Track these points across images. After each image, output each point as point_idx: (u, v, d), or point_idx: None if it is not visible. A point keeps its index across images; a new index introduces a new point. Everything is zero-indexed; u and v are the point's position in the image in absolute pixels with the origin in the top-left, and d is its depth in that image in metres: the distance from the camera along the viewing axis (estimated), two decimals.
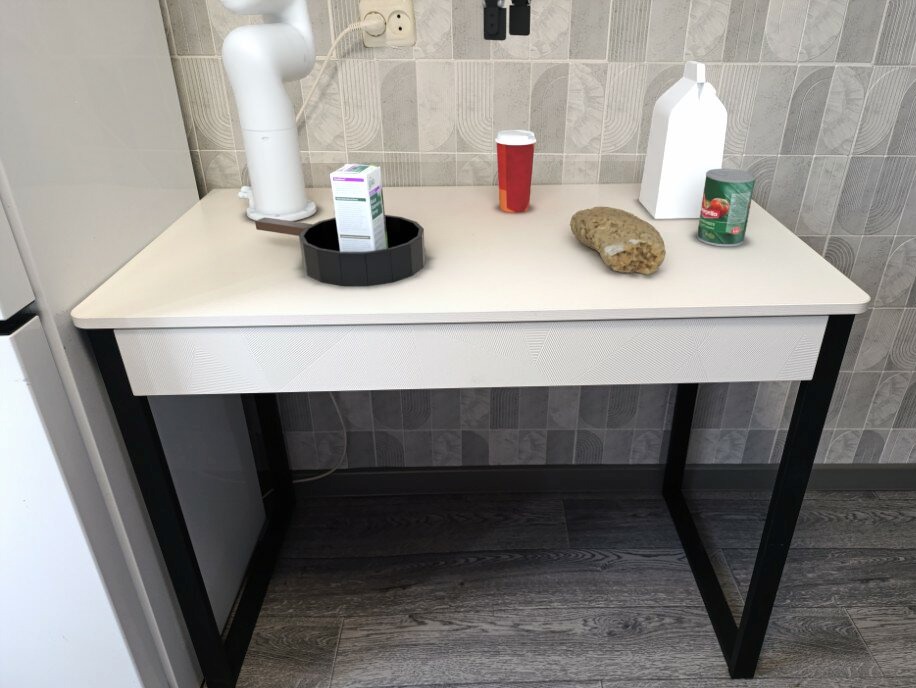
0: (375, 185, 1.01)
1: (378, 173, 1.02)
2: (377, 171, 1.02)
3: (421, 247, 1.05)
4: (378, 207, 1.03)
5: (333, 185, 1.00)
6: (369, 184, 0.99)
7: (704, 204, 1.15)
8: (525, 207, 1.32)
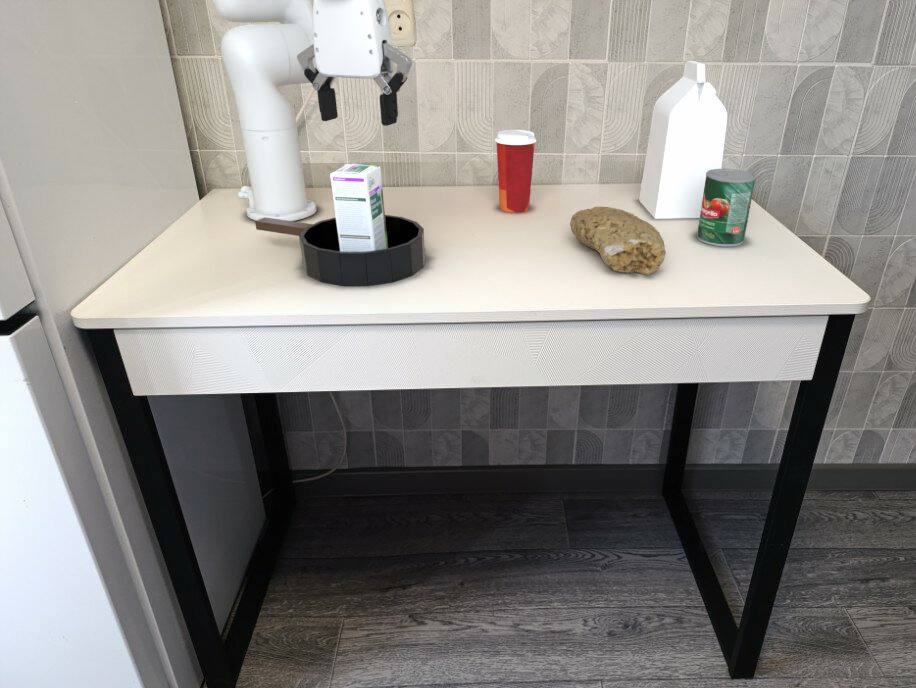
0: (375, 185, 1.01)
1: (378, 173, 1.02)
2: (377, 171, 1.02)
3: (421, 247, 1.05)
4: (378, 207, 1.03)
5: (333, 185, 1.00)
6: (369, 184, 0.99)
7: (704, 204, 1.15)
8: (525, 207, 1.32)
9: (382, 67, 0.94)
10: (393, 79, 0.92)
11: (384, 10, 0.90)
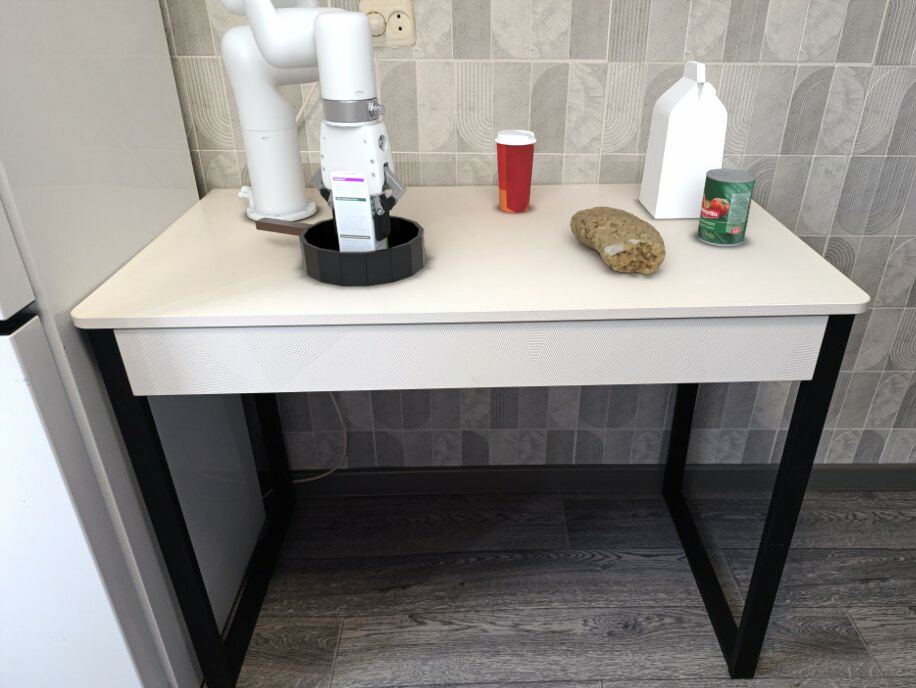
0: None
1: None
2: None
3: (421, 247, 1.05)
4: None
5: (333, 185, 1.00)
6: None
7: (704, 204, 1.15)
8: (525, 207, 1.32)
9: None
10: (386, 202, 1.01)
11: (386, 136, 0.98)
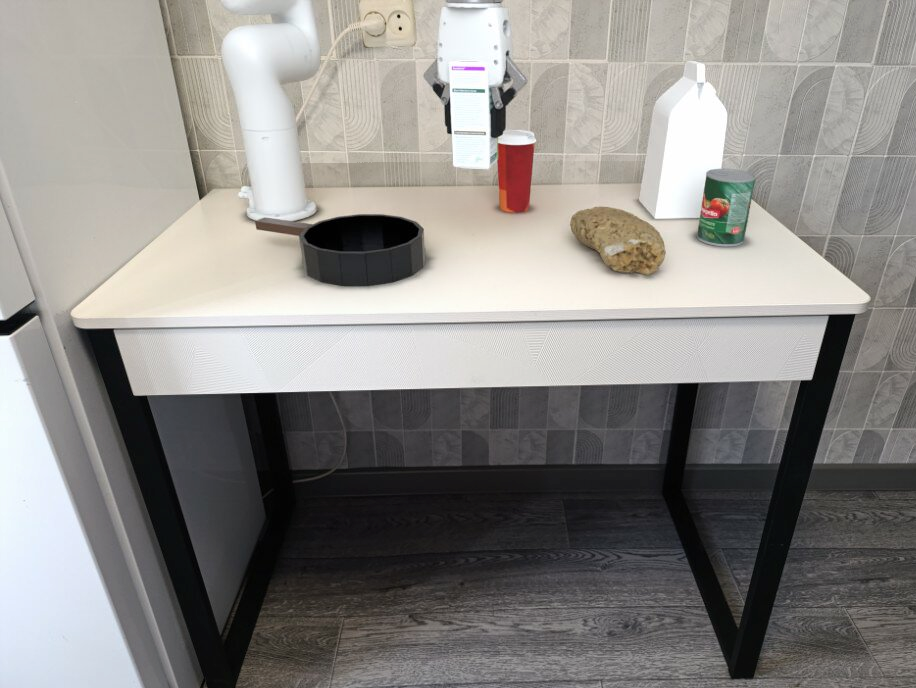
0: None
1: None
2: None
3: (421, 247, 1.05)
4: None
5: (451, 76, 0.96)
6: None
7: (704, 204, 1.15)
8: (525, 207, 1.32)
9: None
10: (505, 94, 0.96)
11: (509, 22, 0.94)
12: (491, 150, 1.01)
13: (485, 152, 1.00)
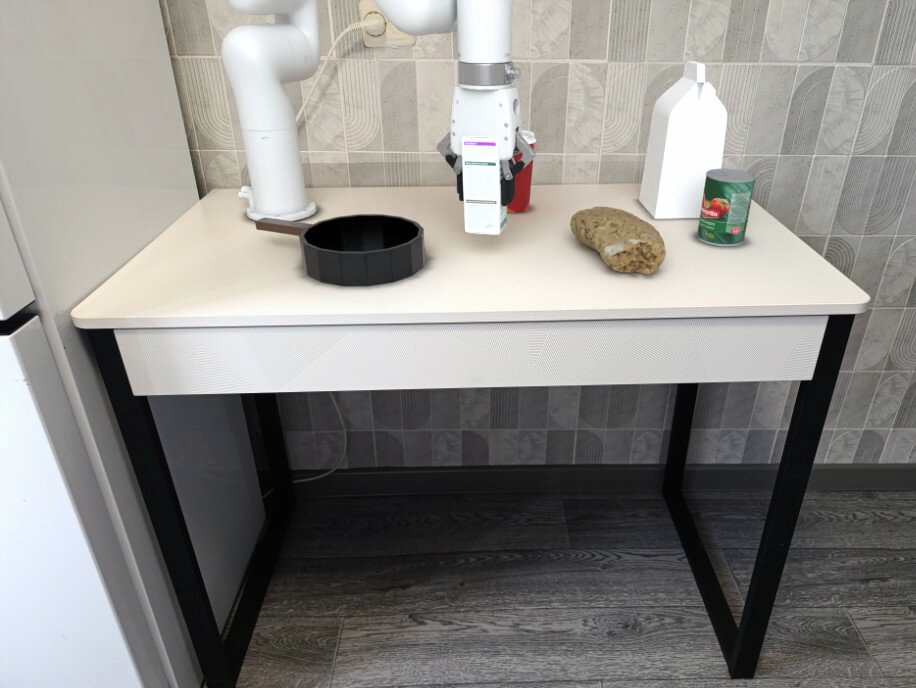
0: None
1: None
2: None
3: (421, 247, 1.05)
4: None
5: (464, 150, 1.01)
6: None
7: (704, 204, 1.15)
8: (525, 207, 1.32)
9: None
10: (515, 166, 1.02)
11: (518, 100, 0.99)
12: (501, 217, 1.06)
13: (495, 219, 1.05)
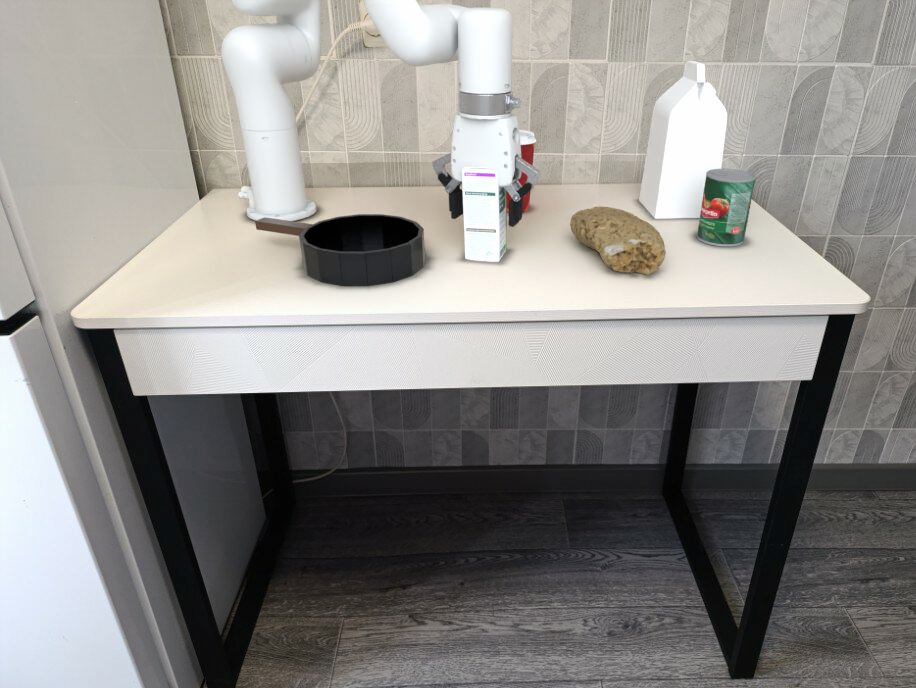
0: None
1: None
2: None
3: (421, 247, 1.05)
4: (503, 201, 1.07)
5: (464, 180, 1.03)
6: None
7: (704, 204, 1.15)
8: (525, 207, 1.32)
9: None
10: (522, 188, 1.03)
11: (518, 128, 1.01)
12: (500, 244, 1.08)
13: (495, 247, 1.08)
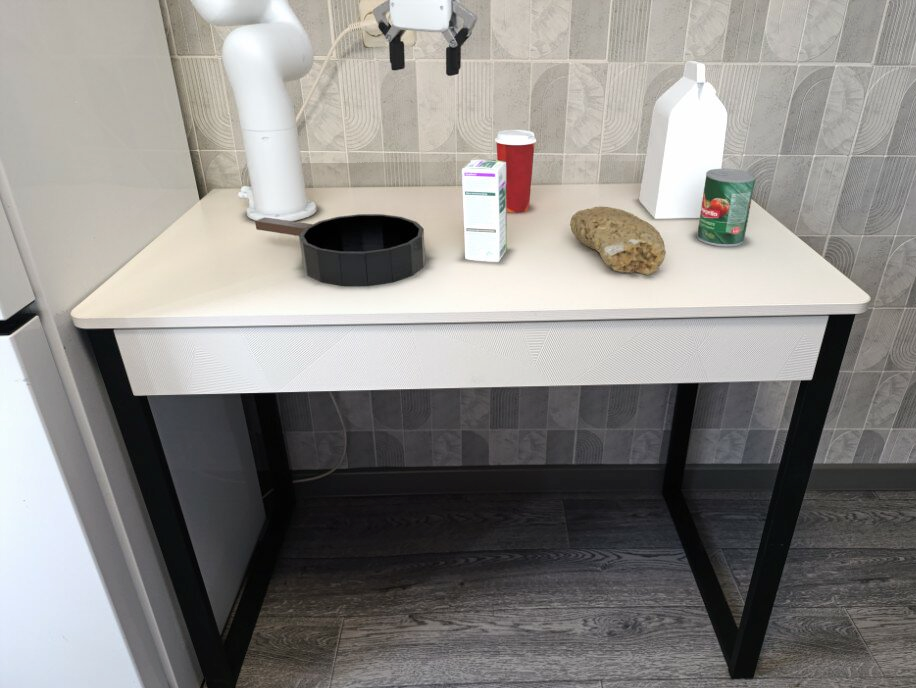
0: (502, 180, 1.05)
1: (505, 169, 1.06)
2: (504, 166, 1.05)
3: (421, 247, 1.05)
4: (503, 201, 1.07)
5: (464, 180, 1.03)
6: (499, 179, 1.03)
7: (704, 204, 1.15)
8: (525, 207, 1.32)
9: (449, 23, 1.05)
10: (459, 33, 1.03)
11: None
12: (500, 244, 1.08)
13: (495, 247, 1.08)
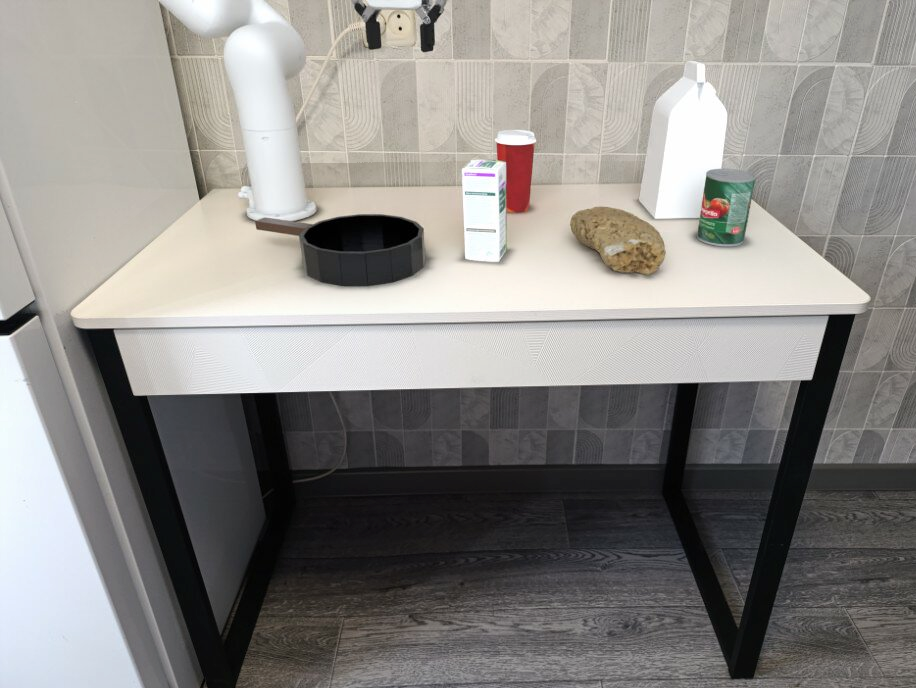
0: (502, 180, 1.05)
1: (505, 169, 1.06)
2: (504, 166, 1.05)
3: (421, 247, 1.05)
4: (503, 201, 1.07)
5: (464, 180, 1.03)
6: (499, 179, 1.03)
7: (704, 204, 1.15)
8: (525, 207, 1.32)
9: (422, 1, 1.09)
10: (432, 10, 1.08)
11: None
12: (500, 244, 1.08)
13: (495, 247, 1.08)
